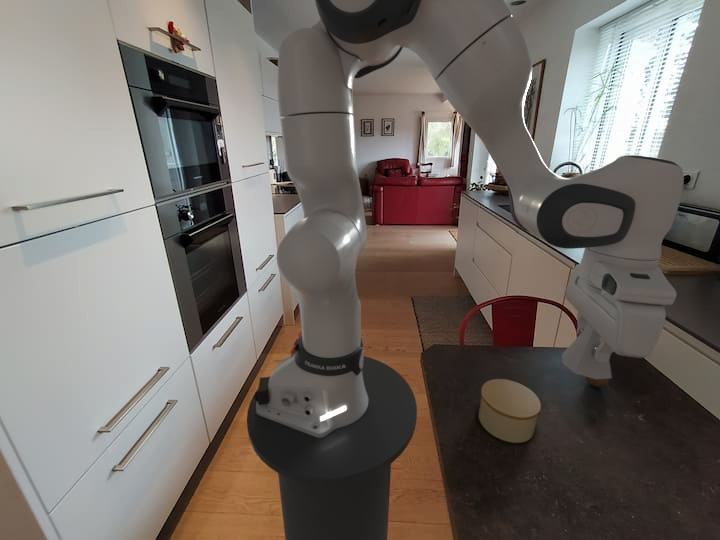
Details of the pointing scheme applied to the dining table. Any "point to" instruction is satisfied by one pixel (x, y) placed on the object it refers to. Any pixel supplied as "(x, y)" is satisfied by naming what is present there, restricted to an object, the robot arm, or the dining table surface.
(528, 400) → the tea tin
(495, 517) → the dining table surface
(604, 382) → the egg
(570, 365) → the flask
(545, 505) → the dining table surface
